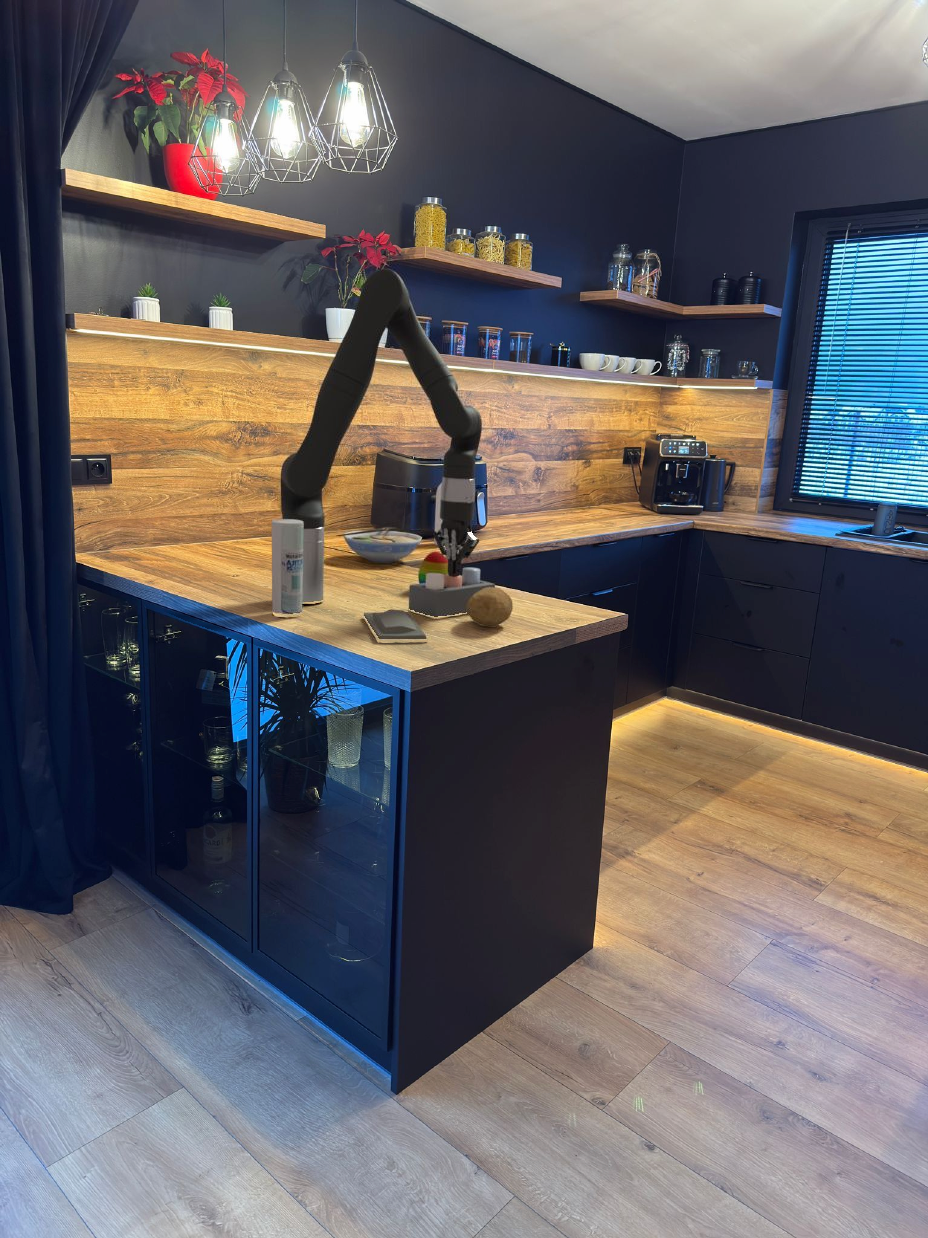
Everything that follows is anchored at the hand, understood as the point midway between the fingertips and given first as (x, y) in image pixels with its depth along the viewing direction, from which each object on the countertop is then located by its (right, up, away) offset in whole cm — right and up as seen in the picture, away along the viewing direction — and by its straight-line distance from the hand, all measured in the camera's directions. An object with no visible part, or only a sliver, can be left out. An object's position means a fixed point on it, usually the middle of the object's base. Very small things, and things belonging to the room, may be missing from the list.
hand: (453, 575), depth 197 cm
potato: (+8, -11, -10) cm, 17 cm away
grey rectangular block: (-1, -8, +2) cm, 8 cm away
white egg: (-4, -6, -3) cm, 8 cm away
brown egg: (0, -6, +1) cm, 6 cm away
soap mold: (-12, -13, -18) cm, 25 cm away
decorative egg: (-5, -3, +21) cm, 22 cm away
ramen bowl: (-22, +7, +59) cm, 63 cm away
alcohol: (-3, +14, +93) cm, 94 cm away
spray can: (-35, -9, -11) cm, 38 cm away
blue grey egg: (+4, -4, +5) cm, 7 cm away
